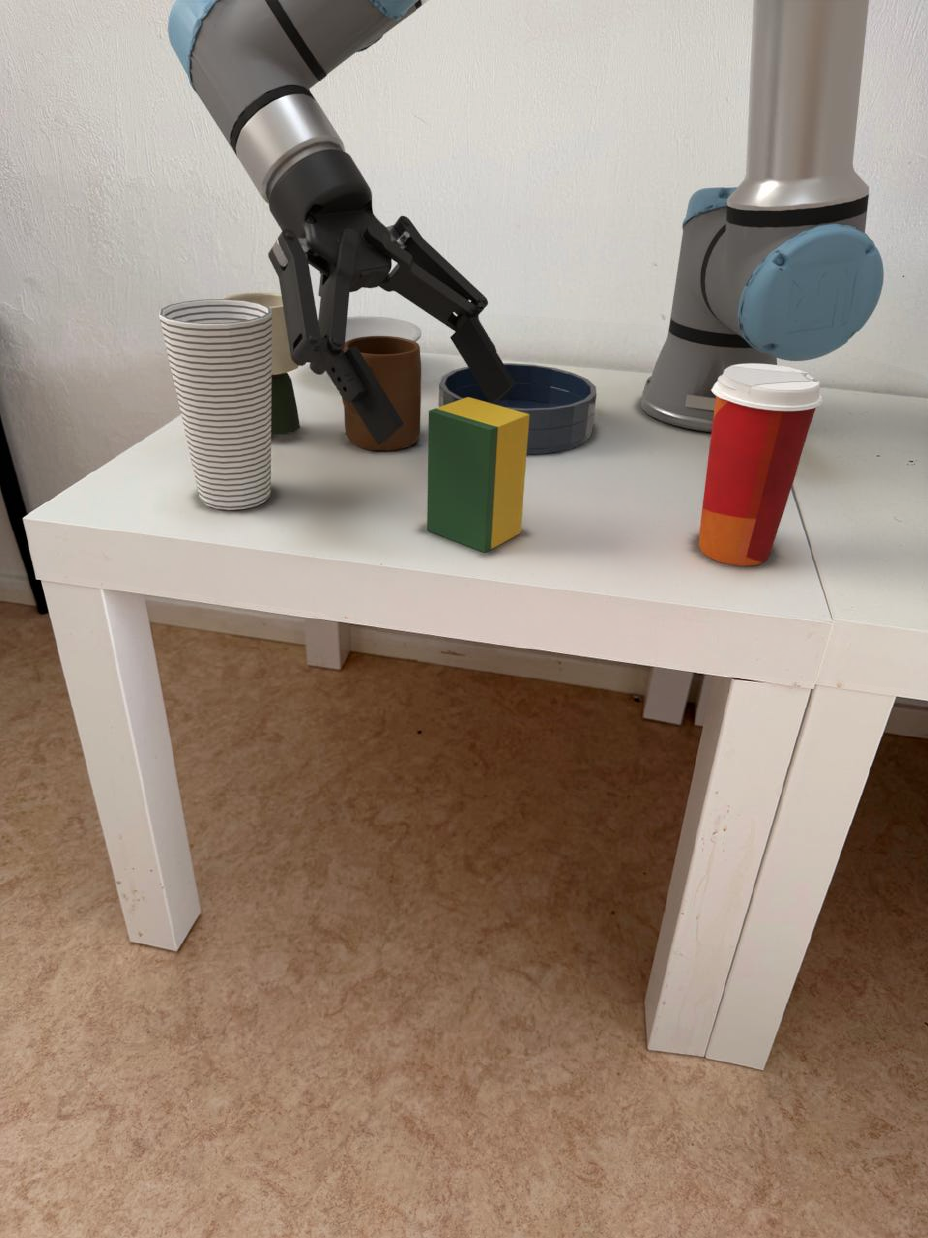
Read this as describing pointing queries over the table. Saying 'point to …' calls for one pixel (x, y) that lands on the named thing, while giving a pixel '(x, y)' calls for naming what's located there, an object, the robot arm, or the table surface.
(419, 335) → the dish
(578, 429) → the bowl
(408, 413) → the mug
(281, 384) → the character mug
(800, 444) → the paper cup
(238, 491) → the cup
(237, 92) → the robot arm
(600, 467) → the table surface
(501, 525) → the sponge
